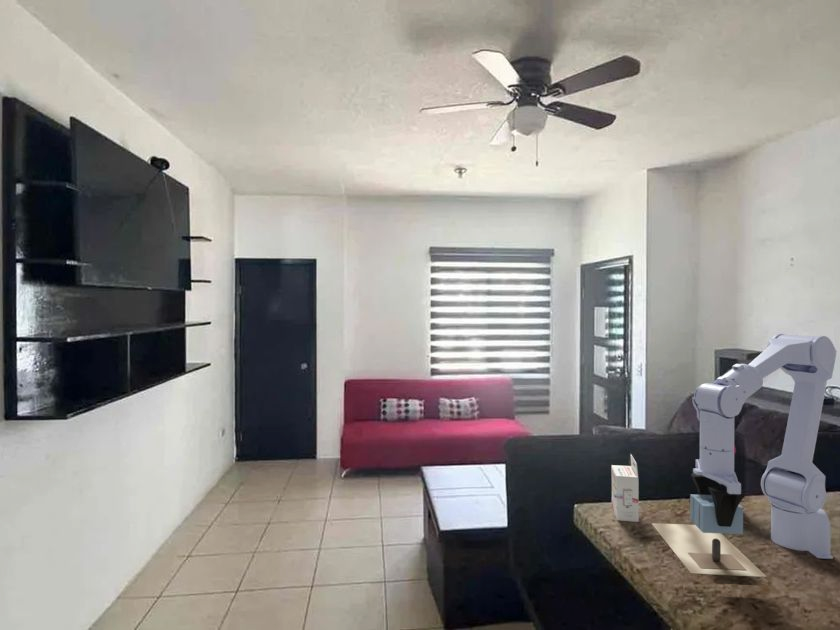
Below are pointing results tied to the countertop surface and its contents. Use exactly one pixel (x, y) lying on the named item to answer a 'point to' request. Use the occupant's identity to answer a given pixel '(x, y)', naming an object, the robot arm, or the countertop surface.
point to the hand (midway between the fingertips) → (716, 518)
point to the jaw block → (712, 516)
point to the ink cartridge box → (625, 491)
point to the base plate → (706, 551)
